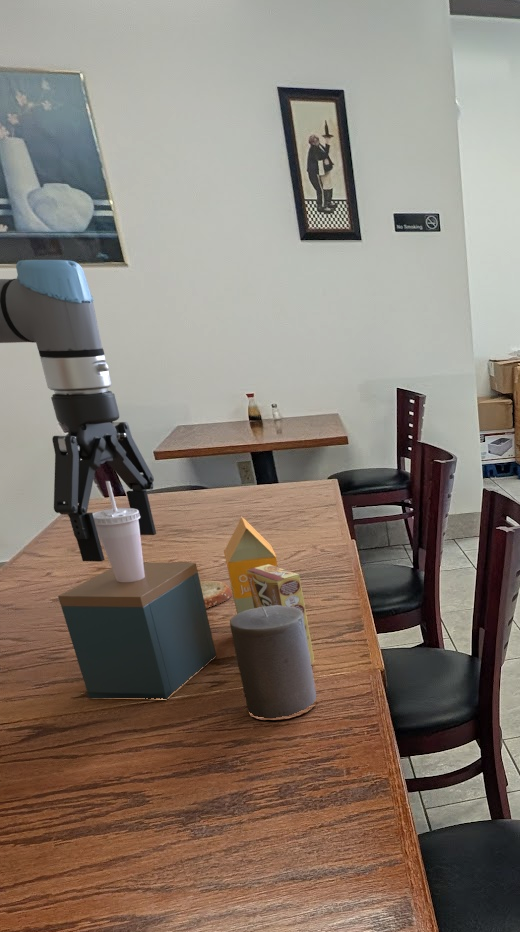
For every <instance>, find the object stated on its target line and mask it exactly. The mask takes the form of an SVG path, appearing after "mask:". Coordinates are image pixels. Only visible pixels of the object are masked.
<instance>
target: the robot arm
mask: <svg viewBox="0 0 520 932" xmlns="http://www.w3.org/2000/svg"><path fill="white" fill-rule="evenodd" d="M15 269H16V273H17V275H16V277H15V278H0V344H12V343H13V344H14V343H16V344H17V343H35V344H36V347H37V348H36V349H37V350H38V354H39V359H40V363H41V366H42V371H43V374H44V378H45V382H46V387H47V389H49V390H50V391H54V393H53V394H52V395H51V397H50V399H51V403H52V406H53V410H54V415H55V417H56V420H57V422H58V423H59V424H62V425H65V426H66V427H67V435H53V436H52V437H51V438H52V439H51V440H52V445H53V449H54V484H53V487H54V488H53V510H54V512H55V513H56V514H60V515H67V516H68V519H69V521H70V525H71V528H72V531H73V535H74V538H75V539H76V542H77V546H78V549H79V550H78V551H79V552H80V556H81V560H82V562H104V561H105V559H106V558H105V556H104V552H103V548H102V543H101V540H100V538H99V535H98V533H97V529H96V525H95V521H94V517H93V512H88V508H89V503H90V498H91V493H92V489H93V483H94V478H95V473H96V471H98V470H99V469H100V466H101V465H104V464H105V463H107V464H108V465H109V466H110V467H111V469H112V470H113V471H114V472H115V473H116V474H117V476H118V477H119V478H120V479H121V480H122V481H123V483H124V484H125V485H126V486H127V488H129V489H130V490H127V491H126V492H125V493H126V497H127V500H128V505H129V508H133V509H137V510H138V511H139V515H140V518H139V519H138V520H139V528H140V536H155V535H157V530H156V525H155V522H154V518H153V513H152V509H151V504H150V499H149V494H148V490H149V491H151V490H153V489H154V481H155V478H154V475H153V474H152V471H151V470H150V468H149V466H148V464H147V461H145V458H144V456H143V454H142V453H141V451H140V449H139V447H138V446H137V444H136V442H135V440H134V438H133V435H132V432H131V429H130V426H129V423H128V422H126V421H117V420H119V419H120V412H119V408H118V404H117V399H116V396H115V395H116V394H115V393H113V391H112V390H109V388H111V386H112V379H111V376H110V373H109V372H110V371H109V369H110V368H109V365H108V363H107V359H106V356H105V351H104V347H103V345H102V340H101V335H100V329H99V325H98V320H97V316H96V310H95V305H94V298H93V297H94V296H92V294H91V290H90V286H89V284H88V280H87V277H86V273H85V271H84V269H83V267H82V266H81V265H80V264H79V263H78V262H76V261H74V260H67V259H25V260H23V259H22V260H18V261H17V262H16V264H15Z"/></svg>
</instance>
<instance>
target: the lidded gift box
mask: <svg viewBox="0 0 520 932" xmlns="http://www.w3.org/2000/svg"><path fill="white" fill-rule="evenodd" d="M143 565H144V574H145V577H144V578H143V579H141V580H138V581H134V582H118V581H117V579H116V576H115V574H114V572H113V569H112V567H110V568H109V569H107V570H105V571H103V572H101V573H100V574H97V575H95V576H94V577H92V578H90V579H88V580H86V581H84V582H82V583H80V584H78V585H76V586H74V587H72V588H70V589H69V590H67V591H65V592H63V593H61V594H60V595H58V596H57V597H58V601H59V604H60V607H61V610H62V614H63V617H64V620H65V624H66V627H67V630H68V634H69V637H70V639H71V644H72V647H73V649H74V650H73V651H74V654H75V657H76V659H77V663H78V667H79V670H80V674H81V676H82V680H83V683H84V686H85V690H86V693H87V696H88V699H89V698H145V699H146V698H148V699H151V698H154V699H156V698H160V699H161V698H163V699H167V698H168V697H169V696H170V695H171V694H172V693H173V692H174V691H176V690H177V689H178V688H179V687H180V686H182V684H184V683H185V682H186V681H187V680H189V678H190V677H191V676H193V675H194V674H195V673H196V672H198V671H199V670H200V669H201V668H202V667H204V666H205V665H206V664H207V663H208V662H209V661H210V660H211V659H213V658H214V657H215V656H216V657H217V652H216V648H215V644H214V638H213V634H212V630H211V625H210V621H209V616H208V612H207V609H206V607H205V602H204V598H203V593H202V589H201V584H200V582H201V579H200V576H199V571H198V567H197V562H143Z"/></svg>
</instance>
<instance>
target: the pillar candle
mask: <svg viewBox="0 0 520 932" xmlns="http://www.w3.org/2000/svg"><path fill="white" fill-rule="evenodd" d="M229 626H230V632H231V638H232V643H233V647H234V653H235V657H236V662H237V667H238V669H239V674H240V679H241V684H242V688H243V690H242V691H243V693H244V699H245V703H246V708H247V711H248V710H249V712H250V713H252V714H253V715H254V716H258V717H264V718H276V717H282V716H289V715H292V714H294V713H297V712H299V711H301V710H304V709H306V708H307V707H309V706H311V704H313V703H314V701H315V700H316V696H317V690H316V684H315V680H314V672H313V667H312V666H311V659H310V654H309V648H308V642H307V636H306V630H305V624H304V618H303V612H302V611H300V609H297V608H294V607H289V606H281V605H274V606H267V607H259V608H254V609H250V610H246V611H243V612H241V613H238V614H237V613H236V614H235V615H234V616H232V617H231V618H230V619H229Z"/></svg>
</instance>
